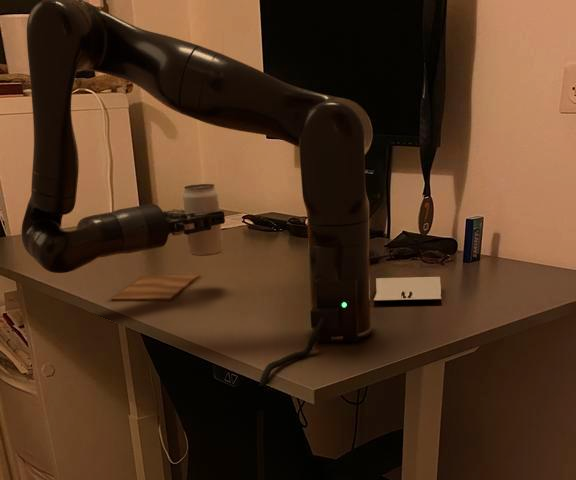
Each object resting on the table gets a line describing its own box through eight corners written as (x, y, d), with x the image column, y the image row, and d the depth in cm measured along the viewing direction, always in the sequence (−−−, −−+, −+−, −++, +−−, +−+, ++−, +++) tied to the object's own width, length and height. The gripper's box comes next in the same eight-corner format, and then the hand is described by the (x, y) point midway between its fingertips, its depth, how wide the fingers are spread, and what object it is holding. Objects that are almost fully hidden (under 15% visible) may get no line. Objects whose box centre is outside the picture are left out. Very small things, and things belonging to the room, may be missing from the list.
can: (185, 252, 154) (177, 186, 148) (216, 247, 156) (209, 182, 150) (196, 257, 149) (188, 189, 143) (228, 252, 151) (221, 185, 145)
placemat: (170, 300, 151) (170, 298, 151) (111, 300, 154) (111, 298, 154) (198, 277, 167) (197, 275, 166) (144, 277, 169) (144, 275, 169)
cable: (279, 269, 168) (279, 262, 167) (379, 247, 181) (379, 240, 180) (318, 279, 158) (318, 272, 157) (421, 255, 171) (421, 248, 171)
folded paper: (373, 306, 139) (373, 295, 138) (376, 289, 149) (375, 278, 148) (442, 305, 137) (443, 293, 136) (440, 287, 147) (441, 276, 146)
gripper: (152, 210, 135) (232, 196, 144) (113, 204, 145) (190, 191, 154) (159, 255, 139) (236, 239, 147) (120, 246, 149) (195, 232, 157)
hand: (212, 215), depth 150 cm, fingers closed on can, 6 cm apart
